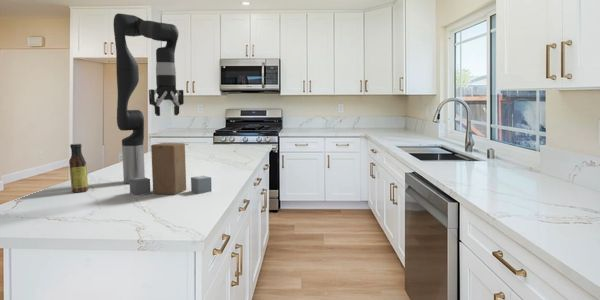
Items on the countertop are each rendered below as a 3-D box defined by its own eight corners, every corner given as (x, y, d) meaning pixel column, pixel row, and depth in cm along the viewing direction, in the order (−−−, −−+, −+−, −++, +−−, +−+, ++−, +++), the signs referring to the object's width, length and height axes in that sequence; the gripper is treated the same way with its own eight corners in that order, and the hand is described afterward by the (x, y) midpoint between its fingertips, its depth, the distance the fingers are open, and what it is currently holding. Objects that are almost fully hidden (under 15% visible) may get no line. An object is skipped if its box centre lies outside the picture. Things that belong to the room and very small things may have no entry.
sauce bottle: (91, 190, 179) (88, 143, 177) (78, 193, 174) (75, 145, 171) (80, 189, 182) (78, 142, 180) (67, 192, 176) (64, 144, 174)
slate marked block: (191, 191, 178) (190, 176, 177) (204, 189, 182) (203, 174, 181) (198, 193, 173) (198, 178, 172) (211, 191, 177) (211, 176, 177)
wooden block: (175, 195, 171) (173, 145, 168) (152, 194, 173) (150, 144, 170) (186, 189, 180) (185, 142, 178) (165, 189, 182) (163, 142, 180)
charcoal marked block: (130, 193, 174) (129, 178, 173) (144, 191, 178) (143, 176, 178) (136, 195, 170) (135, 180, 169) (150, 193, 174) (149, 178, 173)
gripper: (178, 75, 178) (179, 114, 180) (144, 74, 169) (146, 115, 171) (186, 74, 173) (187, 115, 175) (152, 73, 163) (154, 116, 165)
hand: (167, 115), depth 173 cm, fingers open, 7 cm apart
